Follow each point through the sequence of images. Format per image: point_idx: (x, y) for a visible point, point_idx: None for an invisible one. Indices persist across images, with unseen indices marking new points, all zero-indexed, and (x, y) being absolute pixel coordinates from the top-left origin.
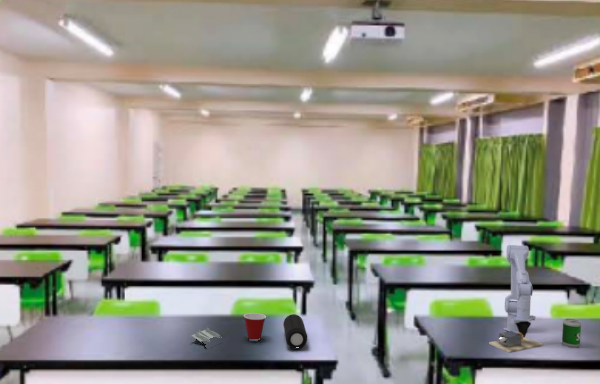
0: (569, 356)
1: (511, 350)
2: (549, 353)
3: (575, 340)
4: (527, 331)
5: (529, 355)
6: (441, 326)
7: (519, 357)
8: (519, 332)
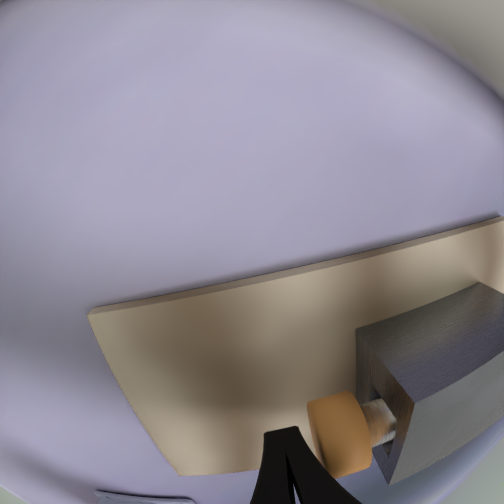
0: (60, 22)
1: (498, 221)
2: (173, 83)
3: None
4: (99, 491)
5: (420, 104)
6: (427, 500)
7: (491, 114)
8: (341, 474)
